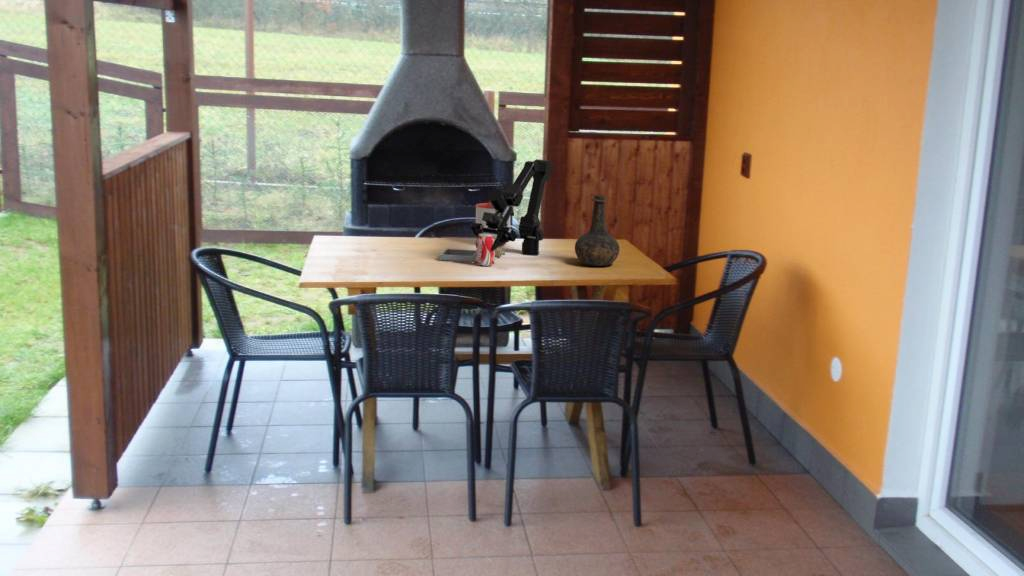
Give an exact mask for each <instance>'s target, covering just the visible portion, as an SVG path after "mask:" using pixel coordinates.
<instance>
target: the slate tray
mask: <svg viewBox="0 0 1024 576" xmlns="http://www.w3.org/2000/svg"><path fill="white" fill-rule="evenodd" d="M476 259H477V250H472V249H469V250H468V249H460V248H459V249H457V248H455V249H454V248H446V249H445V250H444V251H442V252H441V253H440V254H439V262H449V261H454V262H453V263H455V262H456V263H464V262H474V261H475V260H476ZM476 261H477V260H476ZM476 261H475V262H476ZM475 262H474V263H475Z"/></svg>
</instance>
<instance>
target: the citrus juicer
mask: <svg viewBox="0 0 1024 576" xmlns="http://www.w3.org/2000/svg"><path fill="white" fill-rule="evenodd" d="M512 207H513V206H511V208H512ZM496 211H497V210H495V209H494V208H493V206H492V205H491V203H490V201H488V202H481V203H476V204H475V223H482V225H483V227H487V228H488V226H486V224H485V223H486V222H485V221H484V220H482V217H483V214H484V212H488V213H493V214H495V213H496ZM511 217H512V216H510V217H509V219H508V221H507V224H508V225H507V227H511ZM504 227H505V226H504ZM488 234H491V233H488ZM493 235H494V238H495V240H496V238H497V235H496V234H493ZM506 244H507V242H506V243H504V244H503V245H502V246H505V245H506Z"/></svg>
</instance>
